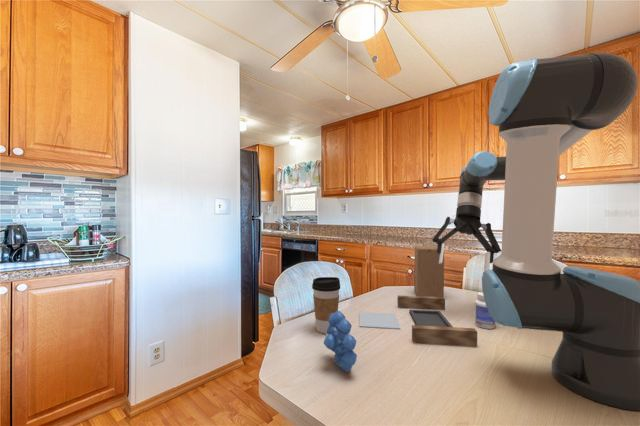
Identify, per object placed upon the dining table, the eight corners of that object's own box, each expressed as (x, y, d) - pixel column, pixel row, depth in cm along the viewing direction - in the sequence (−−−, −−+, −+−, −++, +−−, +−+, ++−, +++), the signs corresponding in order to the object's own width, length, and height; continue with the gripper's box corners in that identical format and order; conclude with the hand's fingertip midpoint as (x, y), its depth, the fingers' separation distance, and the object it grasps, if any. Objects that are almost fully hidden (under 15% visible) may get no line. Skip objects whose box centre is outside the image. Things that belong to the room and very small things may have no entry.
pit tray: (439, 314, 97) (439, 310, 97) (456, 335, 81) (456, 330, 81) (409, 313, 98) (409, 309, 98) (419, 333, 82) (419, 329, 82)
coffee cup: (336, 337, 80) (336, 283, 79) (307, 332, 82) (307, 280, 82) (343, 325, 88) (343, 276, 87) (317, 321, 90) (317, 274, 90)
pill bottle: (498, 330, 85) (498, 297, 84) (478, 328, 85) (479, 296, 85) (490, 322, 90) (490, 292, 90) (472, 321, 91) (472, 291, 91)
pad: (394, 314, 97) (394, 313, 97) (400, 329, 85) (400, 328, 85) (359, 312, 98) (359, 311, 98) (359, 327, 86) (359, 326, 86)
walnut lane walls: (443, 308, 103) (443, 297, 103) (477, 346, 74) (477, 331, 74) (397, 306, 105) (397, 295, 105) (413, 343, 76) (413, 328, 76)
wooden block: (443, 300, 112) (444, 249, 112) (417, 298, 114) (417, 248, 114) (438, 292, 122) (439, 245, 122) (414, 291, 124) (414, 245, 124)
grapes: (313, 357, 69) (313, 307, 69) (339, 351, 71) (339, 303, 71) (334, 384, 58) (334, 325, 58) (363, 377, 61) (363, 320, 61)
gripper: (505, 218, 99) (502, 278, 92) (429, 206, 106) (421, 262, 100) (514, 209, 92) (511, 274, 85) (432, 198, 100) (423, 257, 93)
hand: (462, 267), depth 92 cm, fingers open, 13 cm apart
